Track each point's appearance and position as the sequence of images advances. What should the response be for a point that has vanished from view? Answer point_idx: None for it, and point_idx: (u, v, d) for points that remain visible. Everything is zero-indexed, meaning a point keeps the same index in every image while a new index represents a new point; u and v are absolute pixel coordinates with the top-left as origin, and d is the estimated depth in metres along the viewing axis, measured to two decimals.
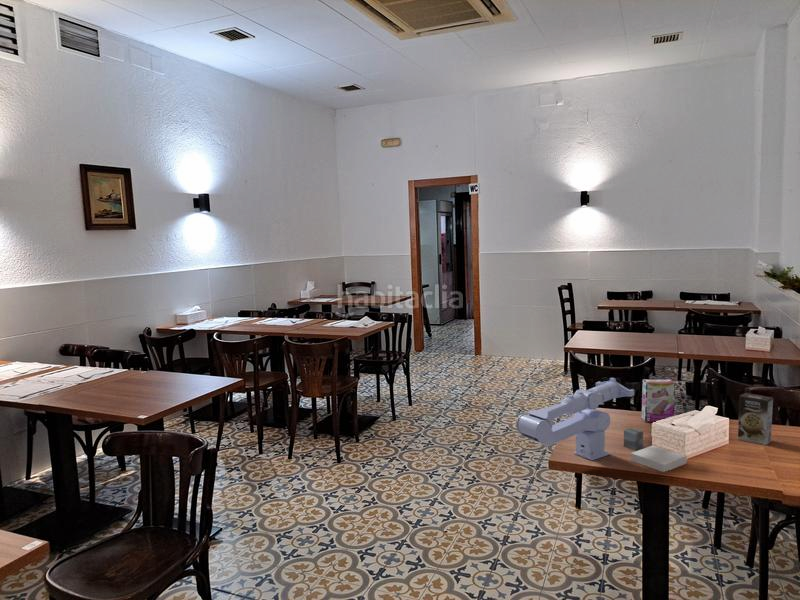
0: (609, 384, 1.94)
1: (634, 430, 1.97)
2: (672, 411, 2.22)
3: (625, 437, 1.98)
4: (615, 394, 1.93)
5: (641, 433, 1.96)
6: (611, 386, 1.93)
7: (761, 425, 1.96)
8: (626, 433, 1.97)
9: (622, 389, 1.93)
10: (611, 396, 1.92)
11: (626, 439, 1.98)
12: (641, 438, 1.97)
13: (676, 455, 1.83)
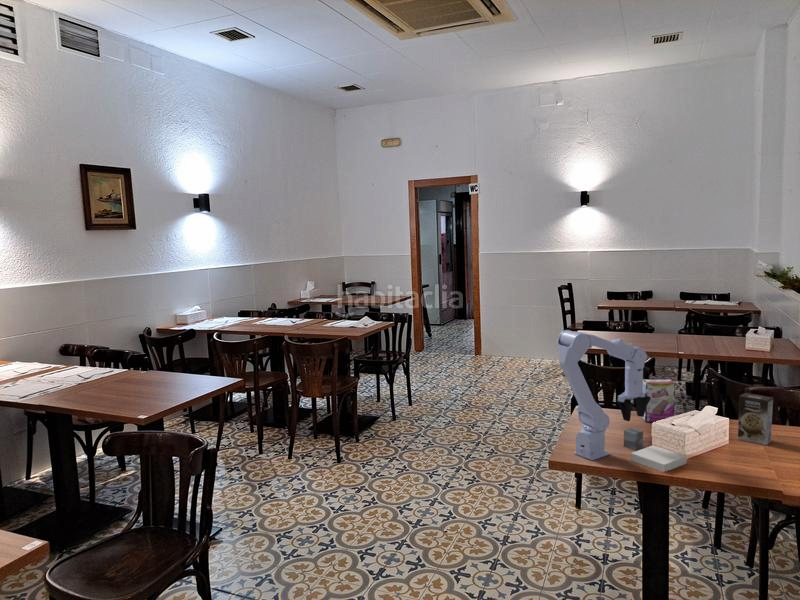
0: (639, 387, 1.93)
1: (634, 430, 1.97)
2: (672, 411, 2.22)
3: (625, 437, 1.98)
4: (627, 387, 1.95)
5: (641, 433, 1.96)
6: (636, 386, 1.93)
7: (761, 425, 1.96)
8: (626, 433, 1.97)
9: (628, 396, 1.94)
10: (626, 381, 1.95)
11: (626, 439, 1.98)
12: (641, 438, 1.97)
13: (676, 455, 1.83)
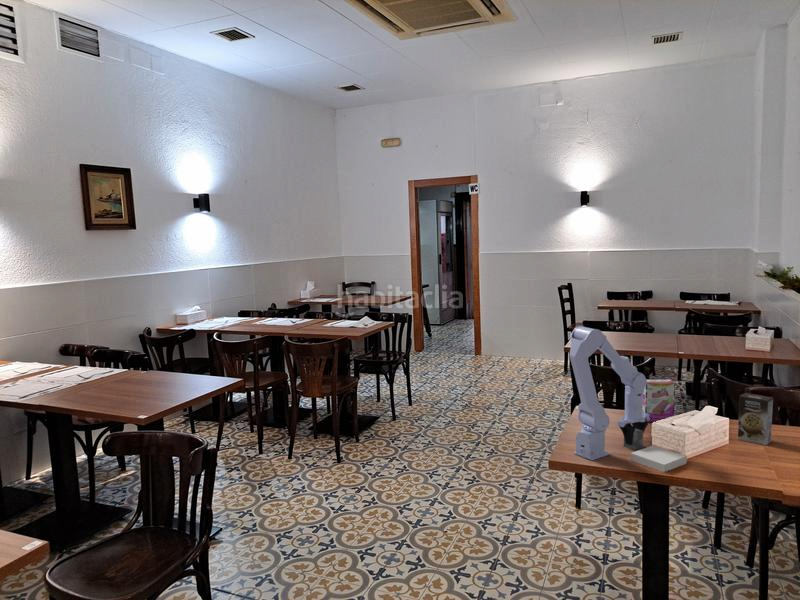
0: (638, 412, 1.94)
1: None
2: (672, 411, 2.22)
3: None
4: (627, 412, 1.96)
5: (641, 433, 1.96)
6: (635, 411, 1.94)
7: (761, 425, 1.96)
8: None
9: (628, 420, 1.95)
10: (626, 406, 1.96)
11: None
12: (641, 438, 1.97)
13: (676, 455, 1.83)
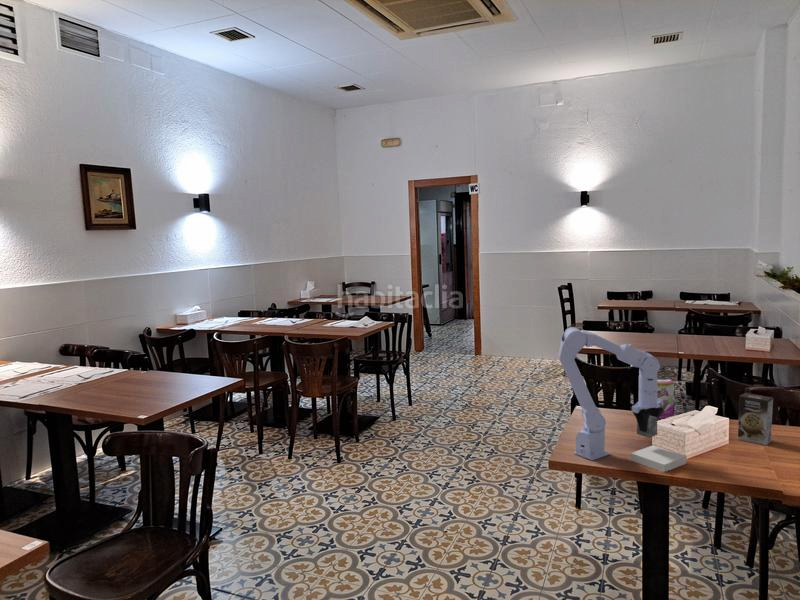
0: (653, 397, 1.86)
1: None
2: (672, 411, 2.22)
3: None
4: (641, 397, 1.87)
5: (655, 419, 1.88)
6: (650, 396, 1.85)
7: (761, 425, 1.96)
8: None
9: None
10: (640, 391, 1.87)
11: None
12: (655, 425, 1.88)
13: (676, 455, 1.83)
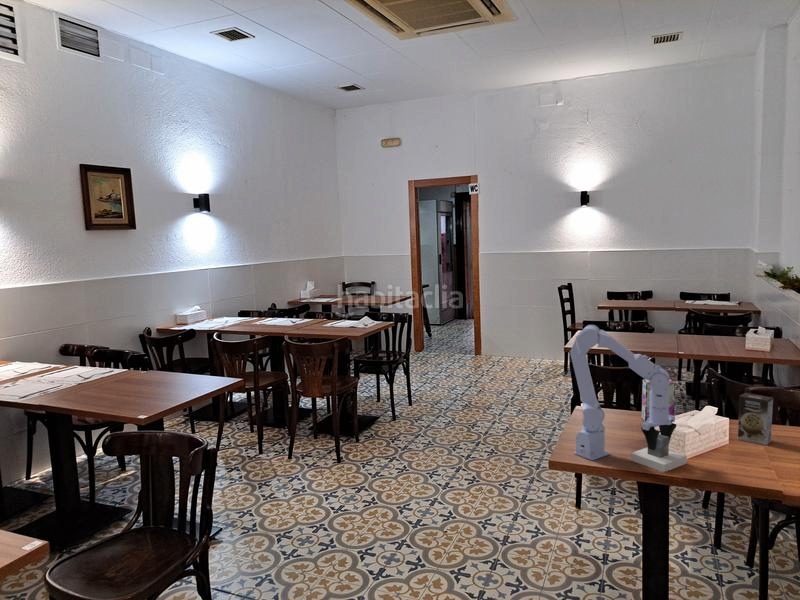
0: (664, 414, 1.80)
1: (659, 436, 1.84)
2: (672, 411, 2.22)
3: None
4: (652, 414, 1.82)
5: (667, 439, 1.83)
6: (661, 413, 1.80)
7: (761, 425, 1.96)
8: None
9: None
10: (651, 407, 1.82)
11: None
12: (667, 445, 1.83)
13: (676, 455, 1.83)
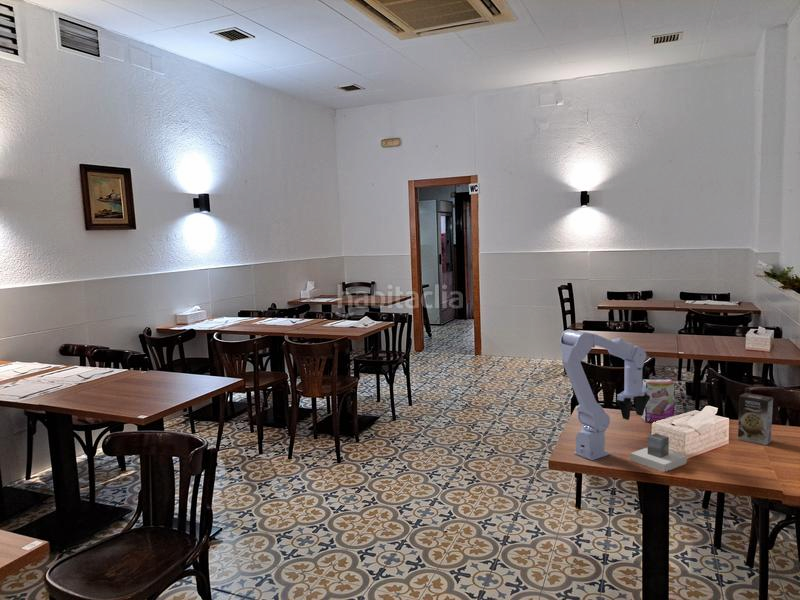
0: (638, 386, 1.94)
1: (659, 436, 1.84)
2: (672, 411, 2.22)
3: (649, 443, 1.84)
4: (626, 386, 1.96)
5: (667, 439, 1.83)
6: (635, 385, 1.94)
7: (761, 425, 1.96)
8: (650, 439, 1.84)
9: (628, 395, 1.95)
10: (626, 380, 1.96)
11: (650, 446, 1.84)
12: (667, 445, 1.83)
13: (676, 455, 1.83)
